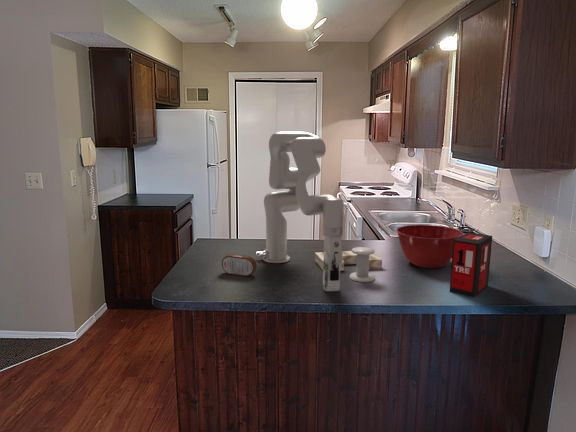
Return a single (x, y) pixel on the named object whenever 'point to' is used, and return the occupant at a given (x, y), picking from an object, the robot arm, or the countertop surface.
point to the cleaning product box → (470, 264)
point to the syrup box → (327, 283)
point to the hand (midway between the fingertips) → (331, 276)
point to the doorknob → (362, 265)
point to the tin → (239, 265)
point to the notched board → (350, 260)
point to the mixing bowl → (428, 244)
